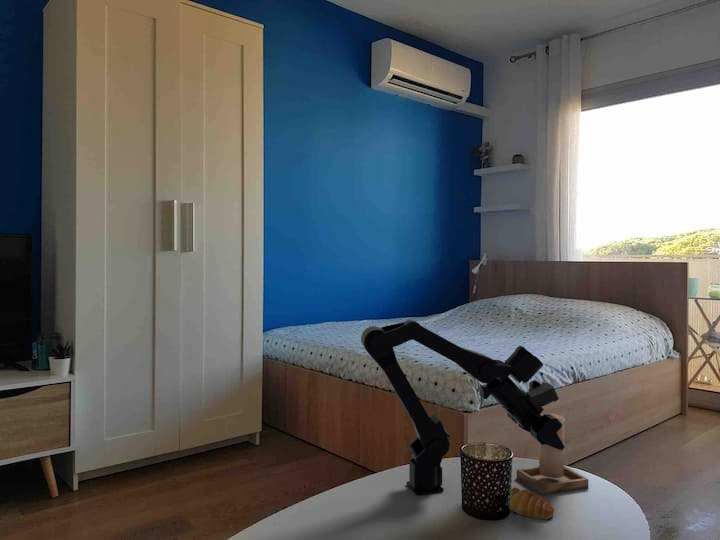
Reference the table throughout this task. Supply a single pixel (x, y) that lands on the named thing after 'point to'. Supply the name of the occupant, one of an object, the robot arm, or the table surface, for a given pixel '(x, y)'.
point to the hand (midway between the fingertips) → (557, 444)
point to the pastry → (530, 504)
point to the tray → (552, 480)
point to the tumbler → (552, 455)
